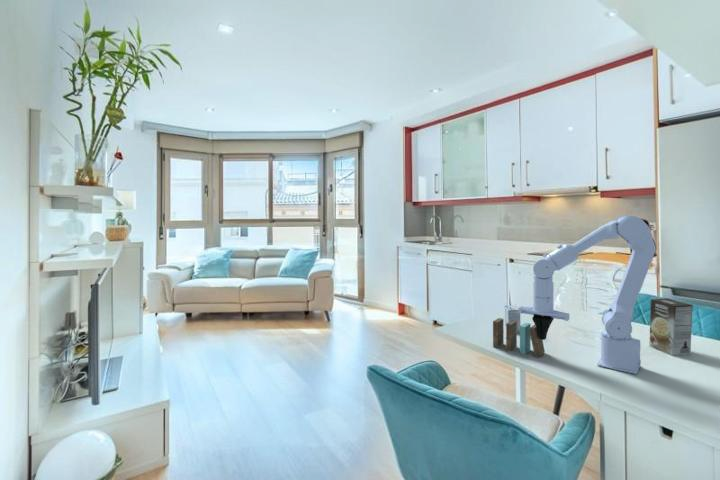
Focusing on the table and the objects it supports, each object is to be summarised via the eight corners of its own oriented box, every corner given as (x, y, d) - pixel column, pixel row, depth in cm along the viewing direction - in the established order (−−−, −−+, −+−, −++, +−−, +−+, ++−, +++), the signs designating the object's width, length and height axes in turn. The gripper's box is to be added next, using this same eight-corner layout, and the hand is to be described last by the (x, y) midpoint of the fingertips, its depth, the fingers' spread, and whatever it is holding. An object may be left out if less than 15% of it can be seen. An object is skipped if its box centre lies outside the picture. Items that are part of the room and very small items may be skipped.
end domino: (503, 344, 129) (503, 318, 129) (497, 348, 126) (497, 322, 125) (498, 343, 130) (498, 317, 130) (493, 347, 127) (493, 321, 126)
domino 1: (516, 346, 126) (516, 321, 126) (511, 351, 123) (511, 324, 122) (511, 345, 127) (511, 320, 127) (506, 350, 124) (506, 323, 123)
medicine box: (520, 332, 141) (520, 310, 141) (508, 332, 142) (508, 309, 141) (516, 326, 149) (516, 304, 148) (504, 325, 150) (504, 304, 149)
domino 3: (544, 352, 120) (539, 324, 121) (539, 356, 117) (534, 328, 117) (539, 351, 121) (534, 324, 122) (534, 356, 118) (529, 328, 118)
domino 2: (530, 349, 123) (530, 323, 123) (525, 354, 120) (525, 327, 119) (525, 348, 124) (525, 322, 124) (519, 353, 121) (520, 326, 120)
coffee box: (647, 346, 124) (649, 298, 123) (665, 345, 124) (667, 297, 123) (672, 356, 115) (674, 305, 114) (692, 355, 115) (694, 304, 114)
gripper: (572, 297, 115) (571, 340, 116) (524, 291, 125) (523, 331, 126) (566, 301, 110) (565, 346, 111) (516, 295, 120) (516, 336, 121)
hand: (542, 338), depth 118 cm, fingers closed
